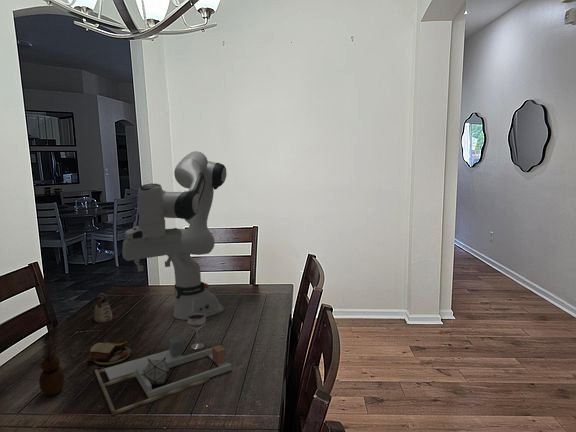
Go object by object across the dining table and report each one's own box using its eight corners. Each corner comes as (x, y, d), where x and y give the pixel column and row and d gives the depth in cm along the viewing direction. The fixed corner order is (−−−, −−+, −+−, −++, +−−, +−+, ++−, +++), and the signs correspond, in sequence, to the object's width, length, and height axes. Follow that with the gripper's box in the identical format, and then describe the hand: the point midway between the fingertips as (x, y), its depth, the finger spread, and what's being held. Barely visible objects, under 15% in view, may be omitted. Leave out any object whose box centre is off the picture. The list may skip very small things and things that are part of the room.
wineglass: (210, 343, 148) (209, 313, 146) (200, 351, 142) (199, 320, 140) (194, 340, 150) (193, 311, 148) (184, 348, 144) (183, 318, 142)
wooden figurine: (49, 386, 120) (44, 340, 118) (68, 385, 121) (64, 340, 119) (37, 399, 114) (32, 351, 111) (57, 398, 114) (53, 350, 112)
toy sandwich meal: (121, 367, 131) (120, 354, 131) (82, 366, 132) (81, 353, 131) (137, 349, 144) (136, 337, 143) (101, 348, 144) (100, 336, 144)
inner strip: (176, 350, 142) (175, 335, 141) (183, 359, 136) (182, 343, 135) (105, 371, 128) (103, 354, 127) (110, 382, 122) (108, 364, 121)
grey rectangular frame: (214, 352, 141) (213, 339, 140) (232, 369, 129) (232, 355, 128) (136, 376, 125) (135, 362, 124) (149, 399, 113) (148, 383, 113)
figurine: (115, 316, 173) (113, 290, 171) (106, 323, 166) (104, 296, 164) (100, 315, 174) (98, 290, 172) (91, 322, 167) (88, 295, 165)
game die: (159, 398, 120) (155, 385, 113) (138, 384, 123) (132, 371, 115) (178, 373, 126) (175, 359, 119) (157, 360, 128) (153, 346, 121)
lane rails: (180, 348, 144) (180, 345, 144) (209, 380, 123) (209, 377, 123) (95, 373, 127) (94, 369, 127) (112, 415, 107) (112, 411, 106)
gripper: (178, 226, 144) (179, 262, 146) (119, 232, 132) (122, 271, 134) (184, 228, 139) (185, 265, 141) (124, 235, 127) (126, 275, 129)
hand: (154, 268), depth 138 cm, fingers open, 8 cm apart
